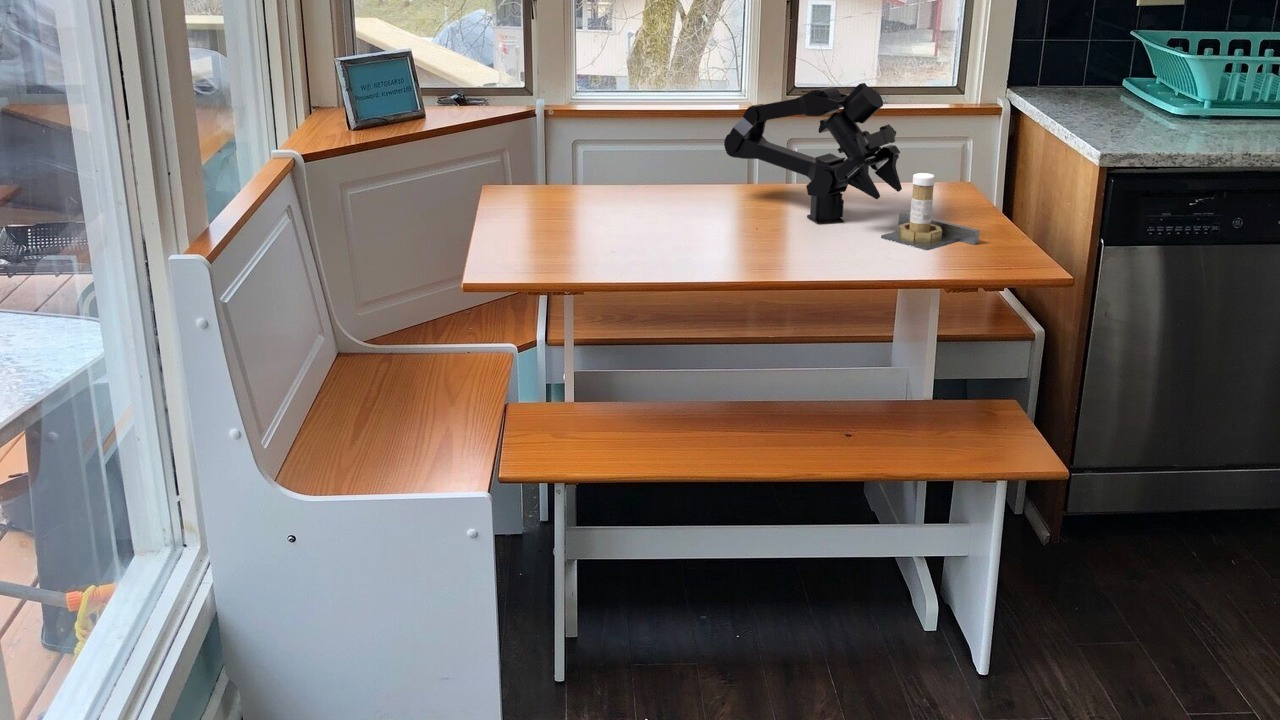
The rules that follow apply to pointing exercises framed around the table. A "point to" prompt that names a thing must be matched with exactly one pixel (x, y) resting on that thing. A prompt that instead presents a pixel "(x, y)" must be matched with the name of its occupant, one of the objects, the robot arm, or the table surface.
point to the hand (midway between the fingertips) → (889, 194)
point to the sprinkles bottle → (921, 202)
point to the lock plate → (932, 234)
